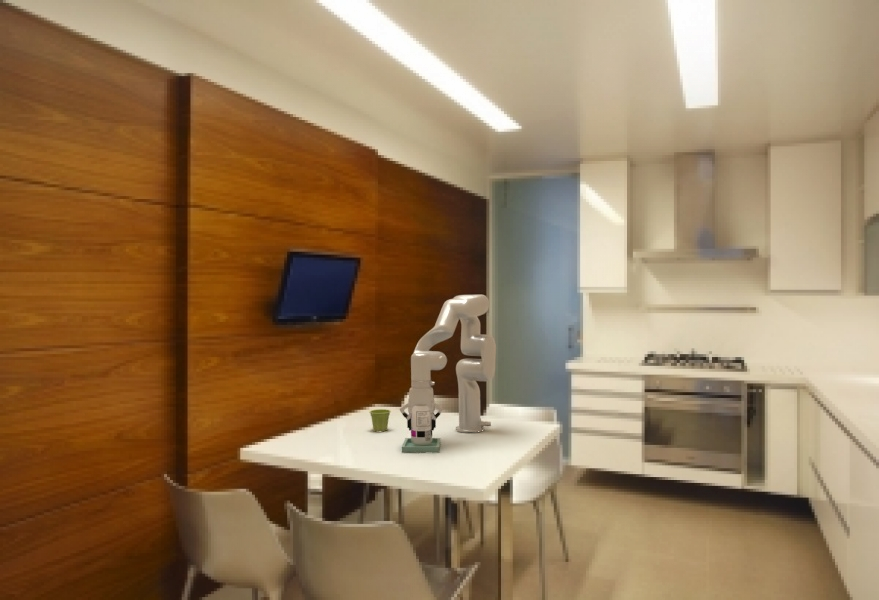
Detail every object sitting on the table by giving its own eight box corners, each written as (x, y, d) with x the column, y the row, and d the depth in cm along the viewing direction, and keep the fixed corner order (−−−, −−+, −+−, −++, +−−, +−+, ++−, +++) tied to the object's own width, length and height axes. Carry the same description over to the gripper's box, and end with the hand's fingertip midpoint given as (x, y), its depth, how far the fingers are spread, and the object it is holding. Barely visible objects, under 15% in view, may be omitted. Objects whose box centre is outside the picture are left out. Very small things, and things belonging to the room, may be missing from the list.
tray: (440, 443, 216) (440, 437, 216) (438, 452, 202) (438, 446, 202) (405, 443, 217) (405, 438, 217) (401, 452, 203) (401, 446, 203)
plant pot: (389, 432, 237) (389, 413, 237) (368, 433, 237) (368, 413, 237) (391, 428, 246) (391, 409, 246) (371, 428, 246) (371, 409, 246)
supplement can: (407, 444, 208) (406, 405, 208) (418, 439, 215) (417, 401, 215) (425, 446, 204) (425, 406, 204) (436, 441, 211) (435, 403, 212)
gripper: (443, 383, 213) (444, 427, 213) (399, 383, 214) (400, 427, 214) (442, 385, 206) (443, 431, 206) (397, 386, 207) (398, 432, 206)
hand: (421, 429), depth 210 cm, fingers closed on supplement can, 8 cm apart
